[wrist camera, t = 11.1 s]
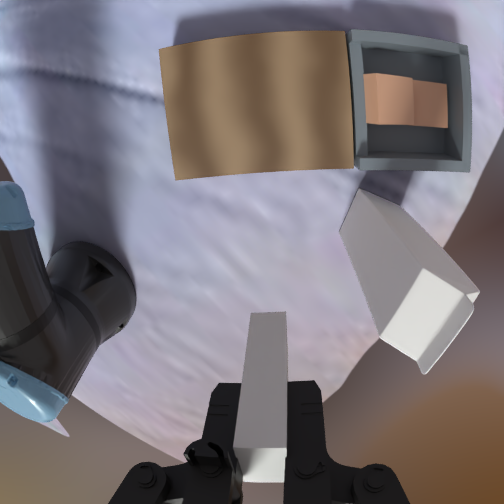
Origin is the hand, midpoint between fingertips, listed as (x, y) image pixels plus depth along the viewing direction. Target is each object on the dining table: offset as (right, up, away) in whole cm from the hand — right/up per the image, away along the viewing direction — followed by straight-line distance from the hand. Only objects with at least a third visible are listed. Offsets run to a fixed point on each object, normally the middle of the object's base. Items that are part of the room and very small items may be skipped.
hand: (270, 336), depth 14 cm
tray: (+16, +20, +16) cm, 30 cm away
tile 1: (+18, +19, +13) cm, 29 cm away
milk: (+13, +8, +23) cm, 27 cm away
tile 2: (+12, +19, +14) cm, 27 cm away
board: (0, +20, +18) cm, 26 cm away
